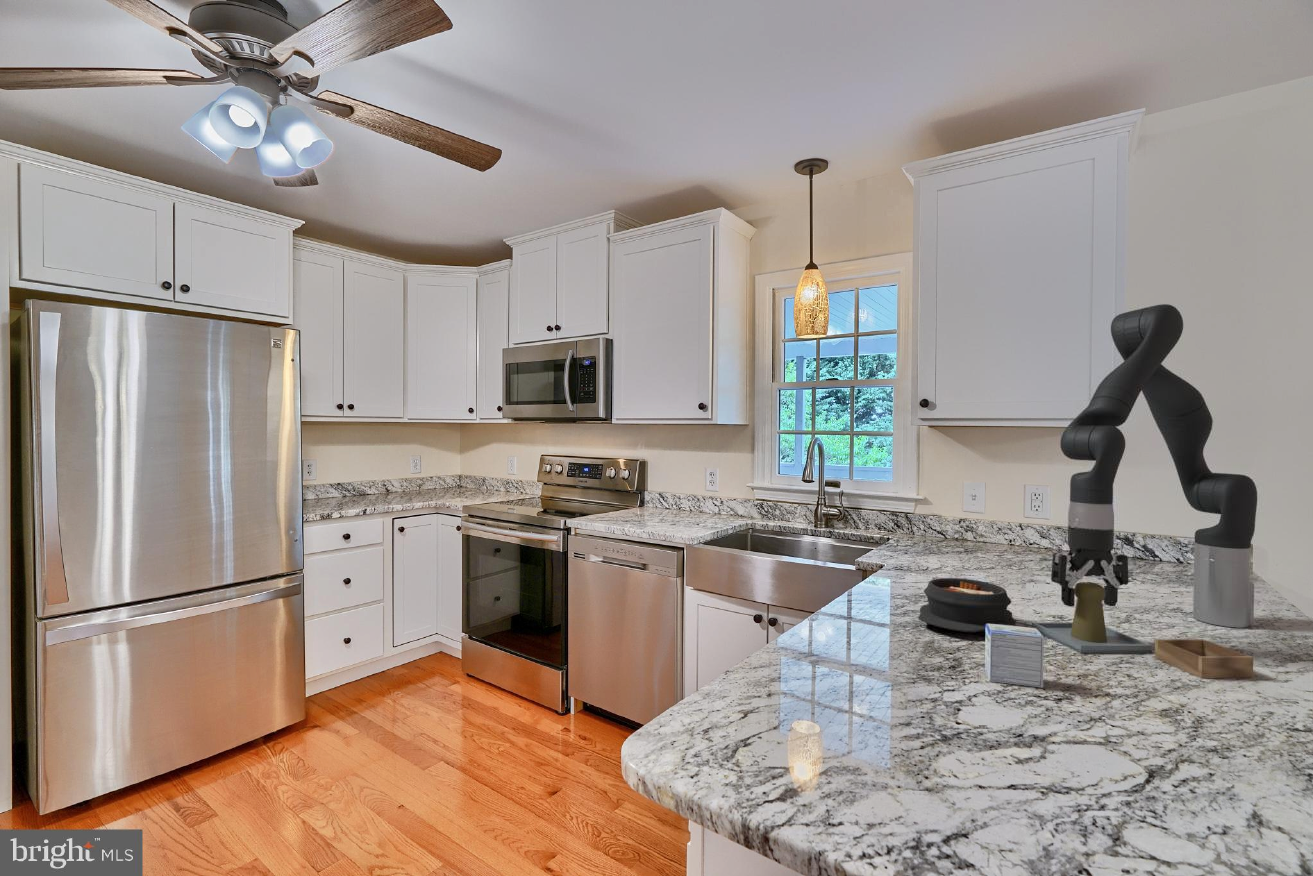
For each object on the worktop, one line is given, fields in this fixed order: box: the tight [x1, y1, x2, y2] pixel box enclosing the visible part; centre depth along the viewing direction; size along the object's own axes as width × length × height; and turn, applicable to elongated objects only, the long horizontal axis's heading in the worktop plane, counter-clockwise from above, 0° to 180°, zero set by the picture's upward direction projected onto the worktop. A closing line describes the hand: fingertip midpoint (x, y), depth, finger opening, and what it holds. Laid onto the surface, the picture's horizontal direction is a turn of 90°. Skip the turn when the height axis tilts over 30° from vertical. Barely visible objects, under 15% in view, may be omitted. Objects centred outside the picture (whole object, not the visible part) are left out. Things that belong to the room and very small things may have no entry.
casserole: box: [918, 577, 1016, 633], centre depth 132 cm, size 25×19×8 cm
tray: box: [1031, 621, 1153, 655], centre depth 122 cm, size 14×14×2 cm
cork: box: [1071, 581, 1107, 643], centre depth 122 cm, size 6×6×11 cm
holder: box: [1154, 638, 1254, 679], centre depth 108 cm, size 9×9×4 cm
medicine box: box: [984, 624, 1045, 688], centre depth 101 cm, size 8×4×9 cm, turn 71°
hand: (1089, 605), depth 122 cm, fingers open, 8 cm apart
